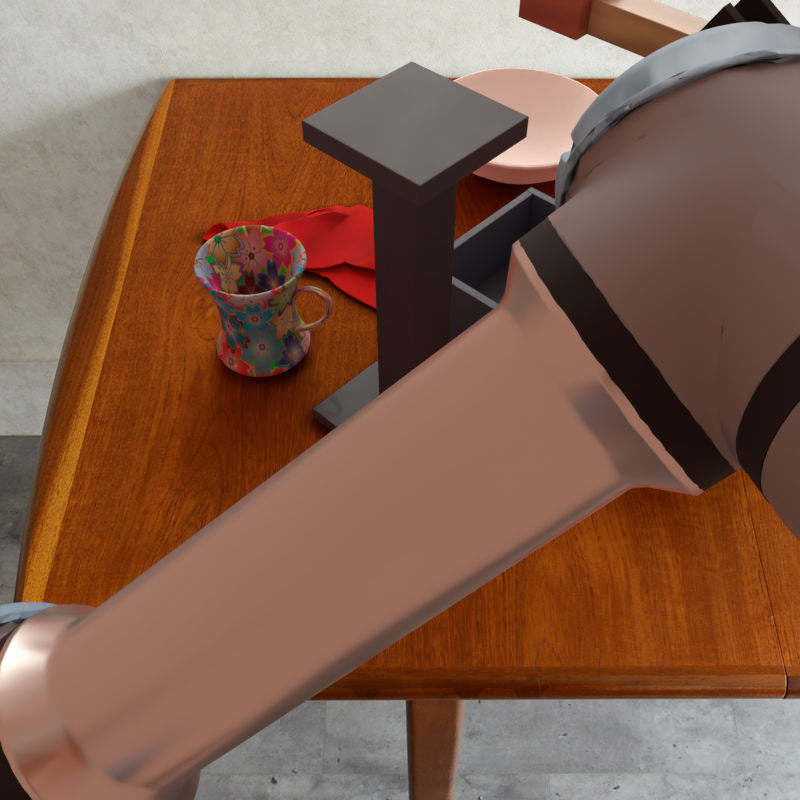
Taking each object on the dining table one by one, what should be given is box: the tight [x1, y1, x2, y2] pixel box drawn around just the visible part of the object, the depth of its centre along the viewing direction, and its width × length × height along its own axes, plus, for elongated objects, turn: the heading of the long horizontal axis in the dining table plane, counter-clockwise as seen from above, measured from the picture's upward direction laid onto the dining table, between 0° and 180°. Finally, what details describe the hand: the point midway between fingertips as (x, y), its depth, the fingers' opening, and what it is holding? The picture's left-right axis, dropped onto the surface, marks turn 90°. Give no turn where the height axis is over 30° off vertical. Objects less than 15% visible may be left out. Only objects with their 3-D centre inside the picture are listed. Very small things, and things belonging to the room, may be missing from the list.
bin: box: [449, 186, 556, 342], centre depth 79 cm, size 16×25×8 cm, turn 46°
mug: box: [193, 225, 334, 378], centre depth 78 cm, size 12×9×11 cm
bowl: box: [453, 67, 599, 186], centre depth 99 cm, size 20×20×6 cm
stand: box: [301, 61, 529, 432], centre depth 66 cm, size 12×12×28 cm
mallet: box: [518, 0, 710, 58], centre depth 57 cm, size 5×22×4 cm, turn 46°
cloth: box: [202, 203, 376, 310], centre depth 91 cm, size 26×14×2 cm, turn 63°
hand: (726, 11), depth 54 cm, fingers closed on mallet, 2 cm apart
